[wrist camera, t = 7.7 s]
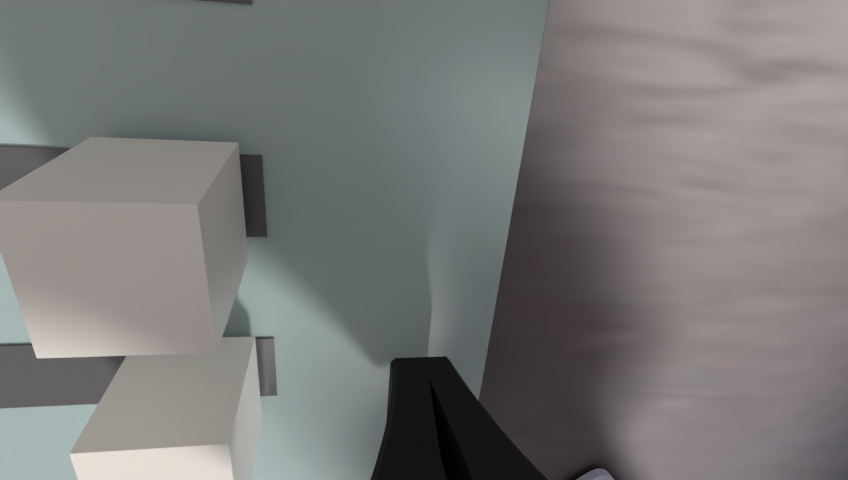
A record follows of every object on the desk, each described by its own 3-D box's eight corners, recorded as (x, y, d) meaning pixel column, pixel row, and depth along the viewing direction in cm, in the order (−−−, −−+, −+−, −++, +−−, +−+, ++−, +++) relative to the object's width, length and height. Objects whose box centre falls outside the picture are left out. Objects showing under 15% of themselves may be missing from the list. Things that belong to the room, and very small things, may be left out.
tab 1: (238, 142, 9) (197, 203, 7) (247, 259, 10) (216, 352, 8) (91, 137, 9) (-18, 200, 6) (117, 259, 10) (36, 358, 7)
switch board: (535, -133, 10) (578, -159, 8) (450, 433, 17) (463, 486, 15) (-891, -339, 7) (-1360, -465, 5) (-255, 478, 14) (-346, 553, 12)
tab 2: (254, 336, 11) (228, 444, 9) (262, 417, 12) (240, 533, 10) (135, 339, 11) (69, 454, 8) (154, 422, 12) (100, 547, 9)
